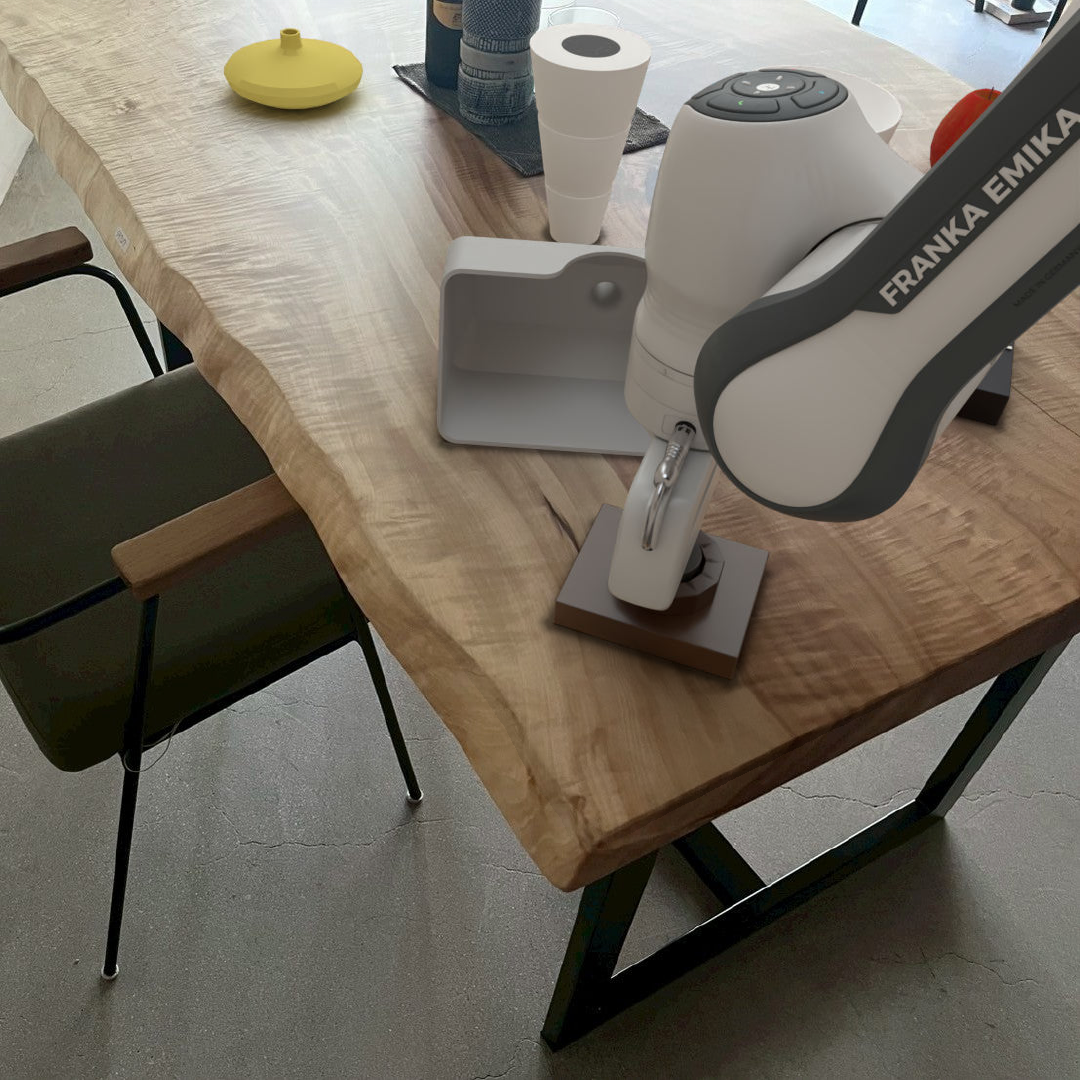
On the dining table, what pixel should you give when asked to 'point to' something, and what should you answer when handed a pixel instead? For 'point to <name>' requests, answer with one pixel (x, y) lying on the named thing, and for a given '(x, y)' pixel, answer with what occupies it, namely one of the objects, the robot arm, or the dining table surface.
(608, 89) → the white tapered cylinder
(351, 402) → the dining table surface
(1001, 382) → the panel
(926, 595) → the dining table surface
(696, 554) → the button
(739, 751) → the dining table surface
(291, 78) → the vase
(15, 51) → the dining table surface
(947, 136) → the apple
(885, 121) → the bowl
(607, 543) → the button block
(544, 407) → the grey storage bin
